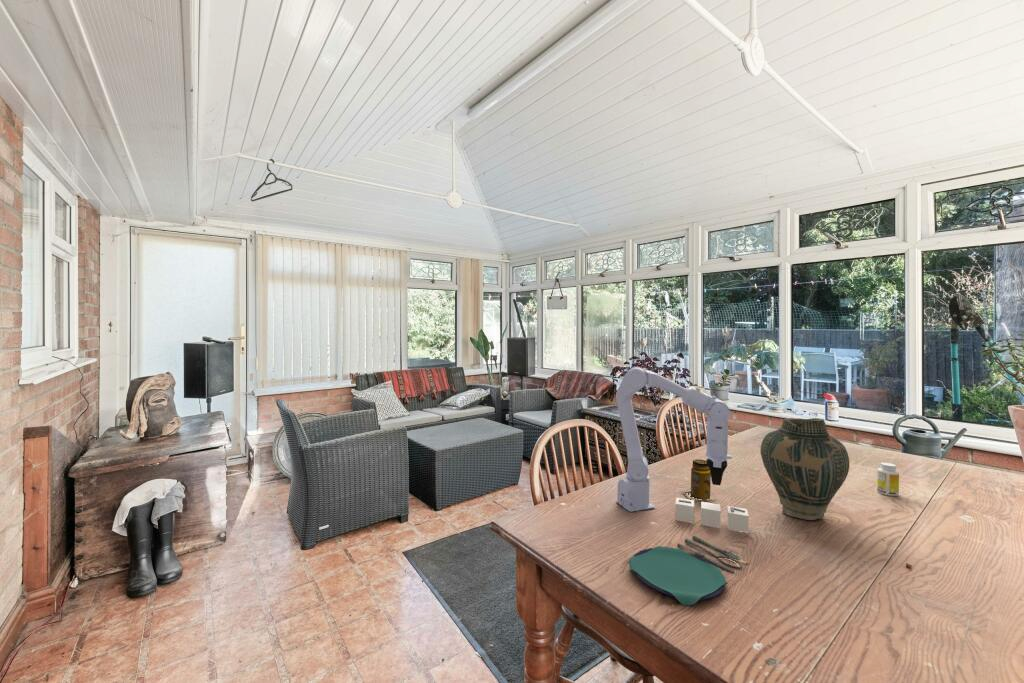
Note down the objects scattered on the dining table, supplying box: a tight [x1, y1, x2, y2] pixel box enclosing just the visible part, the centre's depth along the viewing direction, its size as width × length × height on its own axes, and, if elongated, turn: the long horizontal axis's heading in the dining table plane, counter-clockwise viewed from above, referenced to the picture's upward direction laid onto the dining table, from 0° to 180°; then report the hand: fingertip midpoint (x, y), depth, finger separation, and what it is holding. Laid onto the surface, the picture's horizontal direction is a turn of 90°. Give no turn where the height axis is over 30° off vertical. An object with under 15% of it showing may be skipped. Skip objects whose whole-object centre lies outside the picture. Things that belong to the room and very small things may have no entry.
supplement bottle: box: [876, 462, 900, 497], centre depth 143 cm, size 6×6×10 cm
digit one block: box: [674, 497, 695, 524], centre depth 124 cm, size 5×5×5 cm
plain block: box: [700, 501, 722, 529], centre depth 121 cm, size 5×5×5 cm
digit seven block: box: [726, 505, 750, 533], centre depth 118 cm, size 5×5×5 cm
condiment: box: [680, 459, 717, 502], centre depth 140 cm, size 7×8×12 cm
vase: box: [760, 417, 850, 521], centre depth 126 cm, size 22×22×30 cm
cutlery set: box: [628, 535, 743, 607], centre depth 97 cm, size 20×30×2 cm, turn 124°
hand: (716, 484), depth 126 cm, fingers closed
